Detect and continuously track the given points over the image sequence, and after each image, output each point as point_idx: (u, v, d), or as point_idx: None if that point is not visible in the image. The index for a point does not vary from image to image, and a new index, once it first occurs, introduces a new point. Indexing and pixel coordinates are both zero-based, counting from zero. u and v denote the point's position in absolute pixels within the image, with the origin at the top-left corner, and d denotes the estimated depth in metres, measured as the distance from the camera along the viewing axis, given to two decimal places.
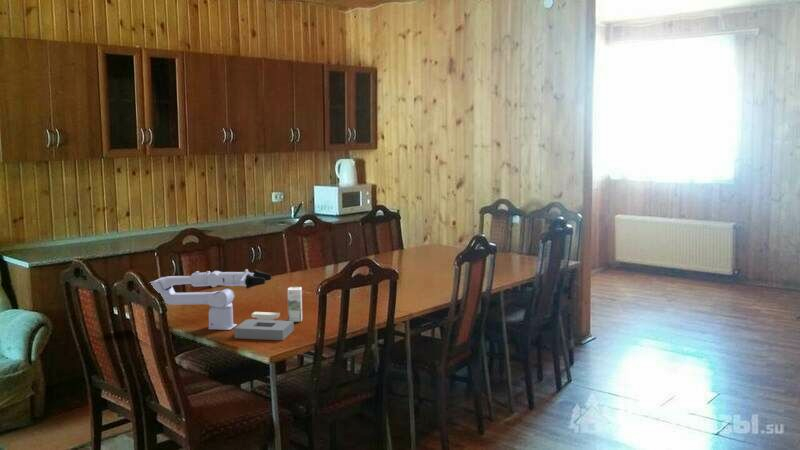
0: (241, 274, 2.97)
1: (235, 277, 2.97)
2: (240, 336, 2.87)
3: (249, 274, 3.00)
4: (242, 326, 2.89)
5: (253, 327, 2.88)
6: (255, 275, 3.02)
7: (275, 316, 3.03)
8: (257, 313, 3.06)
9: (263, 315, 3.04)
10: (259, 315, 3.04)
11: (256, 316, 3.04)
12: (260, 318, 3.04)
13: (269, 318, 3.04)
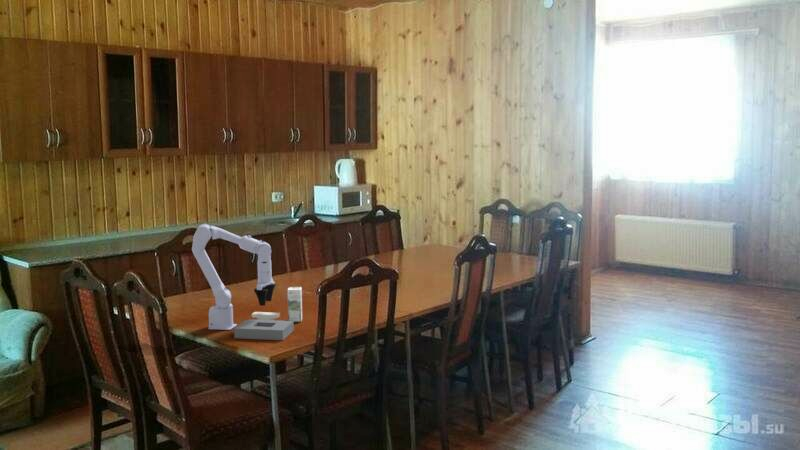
0: (268, 279, 3.02)
1: (265, 274, 3.01)
2: (240, 336, 2.87)
3: None
4: (242, 326, 2.89)
5: (253, 327, 2.88)
6: (269, 286, 3.08)
7: (275, 316, 3.03)
8: (257, 313, 3.06)
9: (263, 315, 3.04)
10: (259, 315, 3.04)
11: (256, 316, 3.04)
12: (260, 318, 3.04)
13: (269, 318, 3.04)
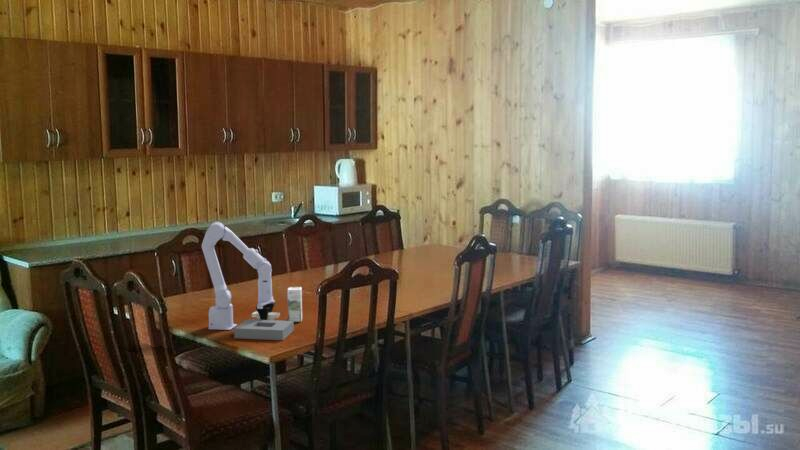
0: (269, 298, 3.03)
1: (265, 293, 3.02)
2: (240, 336, 2.87)
3: None
4: (242, 326, 2.89)
5: (253, 327, 2.88)
6: (268, 305, 3.07)
7: (275, 316, 3.03)
8: (257, 313, 3.06)
9: None
10: None
11: (256, 316, 3.04)
12: None
13: (269, 318, 3.03)
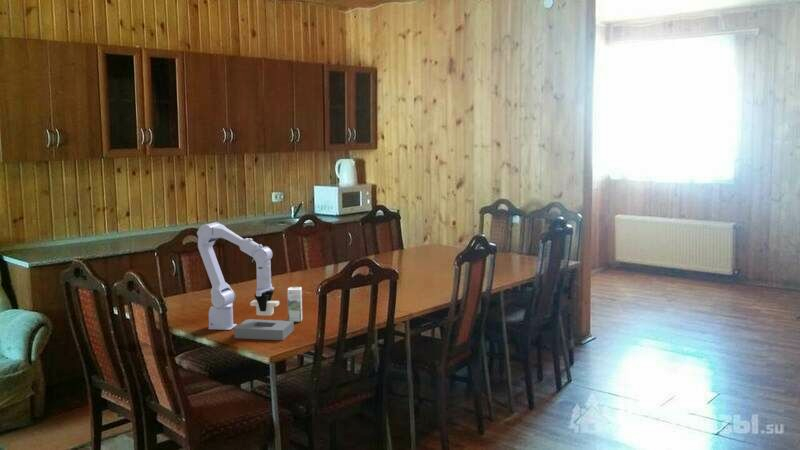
0: (268, 285, 2.93)
1: (264, 280, 2.92)
2: (240, 336, 2.87)
3: None
4: (242, 326, 2.89)
5: (253, 327, 2.88)
6: (267, 292, 2.98)
7: (275, 304, 2.93)
8: (256, 301, 2.96)
9: None
10: None
11: (255, 304, 2.95)
12: None
13: (268, 306, 2.94)
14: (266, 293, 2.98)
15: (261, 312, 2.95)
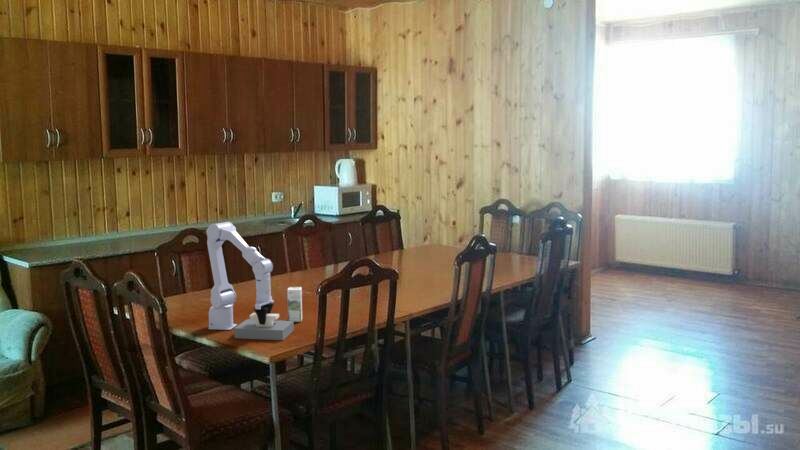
0: (267, 298, 2.89)
1: (264, 293, 2.88)
2: (240, 336, 2.87)
3: None
4: (242, 326, 2.89)
5: (253, 327, 2.88)
6: (267, 305, 2.93)
7: (274, 317, 2.89)
8: (255, 314, 2.92)
9: None
10: (257, 316, 2.90)
11: (254, 317, 2.91)
12: None
13: (268, 319, 2.90)
14: (266, 306, 2.94)
15: (261, 325, 2.91)
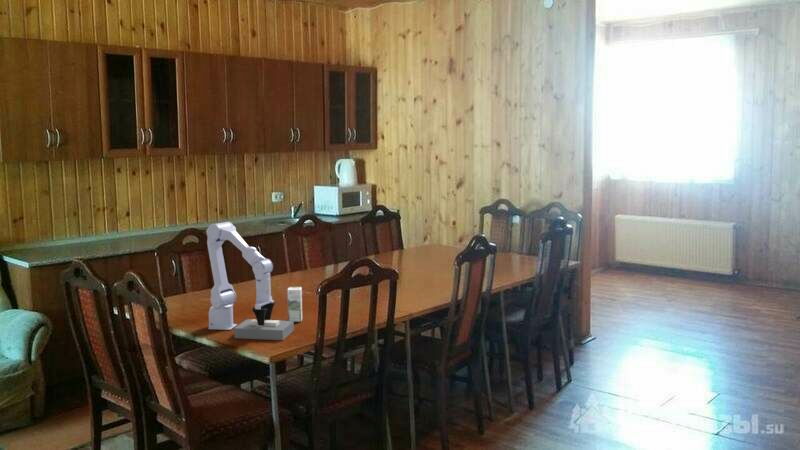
0: (267, 298, 2.89)
1: (264, 293, 2.88)
2: (240, 336, 2.87)
3: None
4: (242, 326, 2.89)
5: (253, 327, 2.88)
6: (268, 304, 2.95)
7: (274, 324, 2.90)
8: (255, 321, 2.92)
9: None
10: None
11: (254, 324, 2.91)
12: None
13: (268, 326, 2.90)
14: (267, 305, 2.95)
15: None
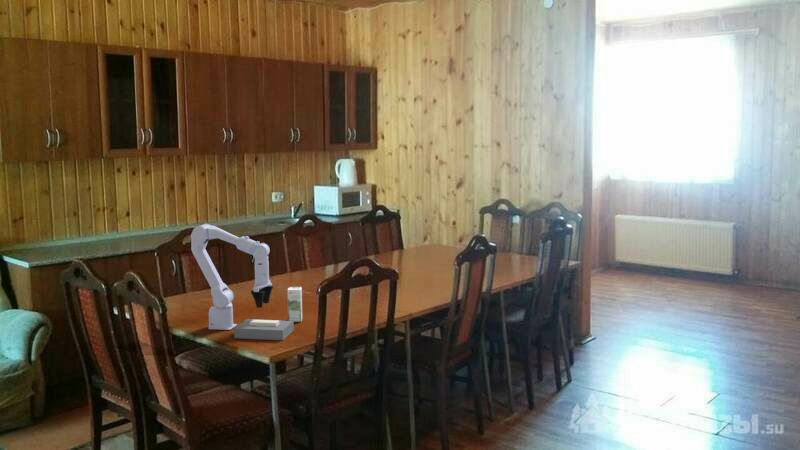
0: (265, 281, 2.97)
1: (262, 276, 2.96)
2: (240, 336, 2.87)
3: None
4: (242, 326, 2.89)
5: (253, 327, 2.88)
6: (267, 288, 3.03)
7: (274, 324, 2.90)
8: (255, 321, 2.92)
9: (262, 323, 2.90)
10: (258, 323, 2.91)
11: (254, 324, 2.91)
12: None
13: (268, 326, 2.90)
14: (265, 288, 3.03)
15: None
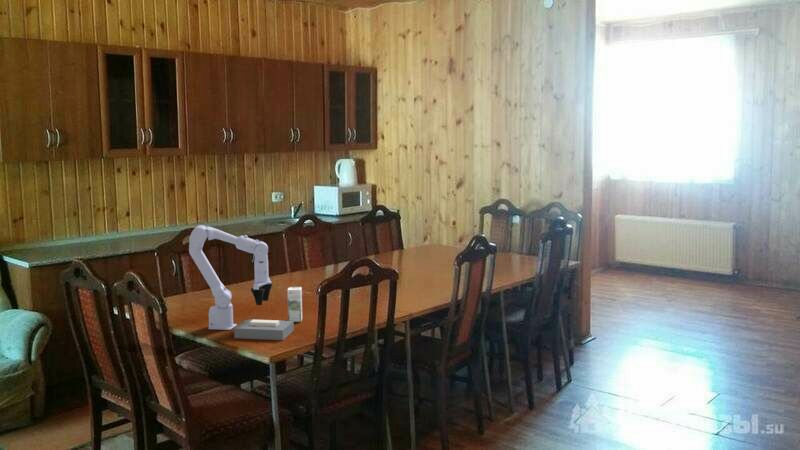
0: (265, 279, 3.01)
1: (262, 274, 3.00)
2: (240, 336, 2.87)
3: None
4: (242, 326, 2.89)
5: (253, 327, 2.88)
6: (266, 285, 3.07)
7: (274, 324, 2.90)
8: (255, 321, 2.92)
9: (262, 323, 2.90)
10: (258, 323, 2.91)
11: (254, 324, 2.91)
12: None
13: (268, 326, 2.90)
14: (265, 286, 3.07)
15: None
